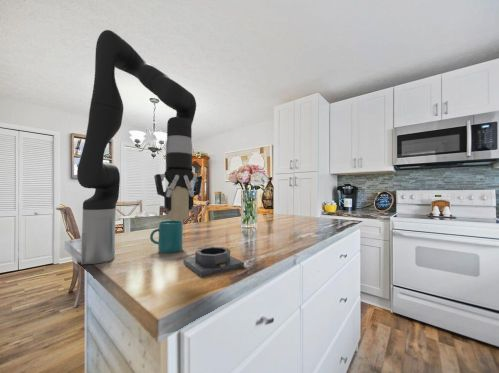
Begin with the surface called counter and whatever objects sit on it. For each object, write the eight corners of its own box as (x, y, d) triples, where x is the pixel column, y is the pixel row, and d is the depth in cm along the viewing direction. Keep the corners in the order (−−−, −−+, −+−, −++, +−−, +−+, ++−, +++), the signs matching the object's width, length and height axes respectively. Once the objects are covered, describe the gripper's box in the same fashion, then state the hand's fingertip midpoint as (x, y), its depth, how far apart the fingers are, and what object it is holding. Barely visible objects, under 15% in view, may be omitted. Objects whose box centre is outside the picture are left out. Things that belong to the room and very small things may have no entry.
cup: (150, 249, 88) (150, 221, 88) (181, 246, 92) (181, 220, 93) (149, 255, 79) (150, 224, 80) (183, 252, 84) (184, 222, 84)
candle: (182, 221, 62) (182, 185, 62) (165, 220, 63) (165, 186, 63) (191, 218, 67) (191, 186, 67) (175, 218, 68) (175, 186, 69)
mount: (201, 277, 59) (201, 260, 59) (183, 263, 71) (183, 249, 71) (243, 267, 67) (243, 252, 68) (221, 256, 79) (221, 243, 79)
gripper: (197, 157, 73) (197, 208, 72) (151, 152, 65) (150, 210, 64) (206, 153, 67) (206, 209, 66) (157, 148, 58) (156, 212, 58)
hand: (179, 209), depth 65 cm, fingers closed on candle, 5 cm apart
